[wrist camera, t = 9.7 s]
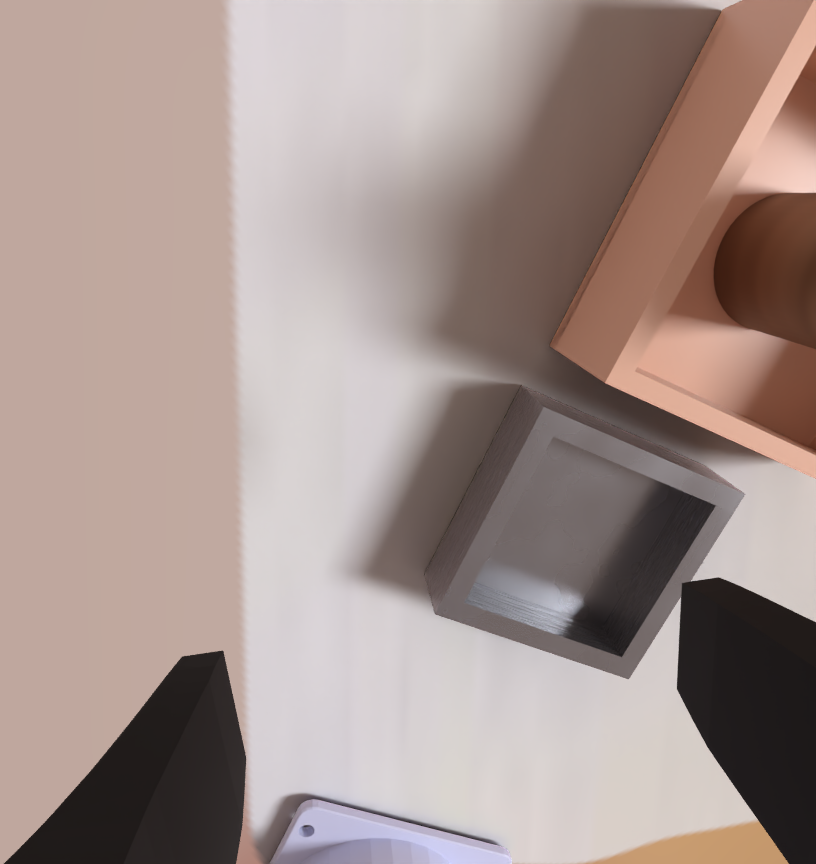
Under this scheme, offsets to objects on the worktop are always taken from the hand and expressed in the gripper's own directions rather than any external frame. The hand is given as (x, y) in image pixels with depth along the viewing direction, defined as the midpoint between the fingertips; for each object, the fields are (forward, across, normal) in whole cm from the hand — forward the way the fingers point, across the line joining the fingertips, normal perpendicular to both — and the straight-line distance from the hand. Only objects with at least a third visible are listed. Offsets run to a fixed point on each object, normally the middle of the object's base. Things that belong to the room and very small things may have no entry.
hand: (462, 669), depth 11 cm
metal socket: (+9, -5, +3) cm, 11 cm away
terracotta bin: (+9, -11, -4) cm, 15 cm away
